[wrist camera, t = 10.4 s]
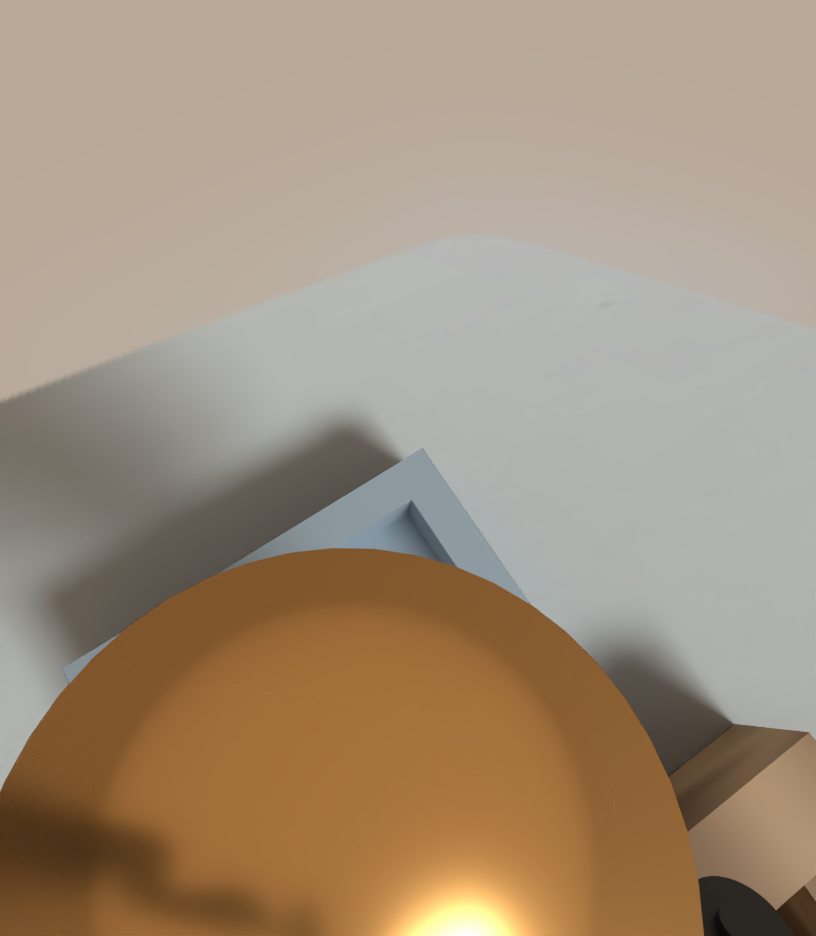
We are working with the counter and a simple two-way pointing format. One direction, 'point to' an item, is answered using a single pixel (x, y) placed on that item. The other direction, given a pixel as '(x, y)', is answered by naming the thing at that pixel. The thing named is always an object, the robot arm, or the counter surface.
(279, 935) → the pin
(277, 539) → the tray
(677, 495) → the counter surface
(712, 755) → the socket block
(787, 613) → the counter surface
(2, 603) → the counter surface
